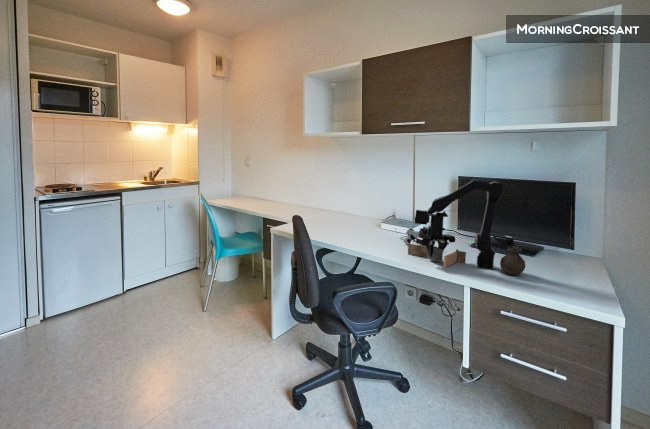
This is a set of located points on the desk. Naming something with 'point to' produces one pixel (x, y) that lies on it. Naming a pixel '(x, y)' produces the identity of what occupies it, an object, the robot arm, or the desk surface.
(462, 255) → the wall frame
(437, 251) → the block
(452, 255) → the door
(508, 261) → the drawstring pouch
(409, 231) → the toy gun
